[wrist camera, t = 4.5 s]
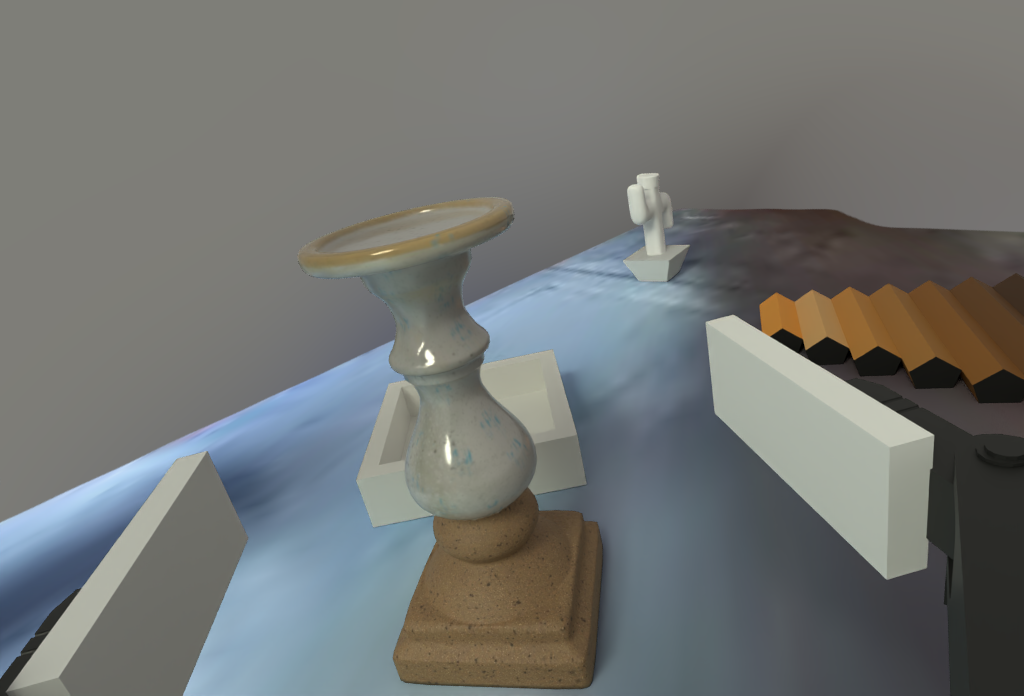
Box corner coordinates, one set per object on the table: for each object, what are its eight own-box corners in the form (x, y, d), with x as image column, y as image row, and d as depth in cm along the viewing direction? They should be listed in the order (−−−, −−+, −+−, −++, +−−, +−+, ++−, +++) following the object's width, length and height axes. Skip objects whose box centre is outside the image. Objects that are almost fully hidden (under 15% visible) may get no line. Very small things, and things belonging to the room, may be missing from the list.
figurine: (695, 266, 90) (685, 164, 84) (668, 288, 83) (656, 179, 78) (651, 266, 94) (639, 169, 89) (622, 287, 88) (607, 184, 82)
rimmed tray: (373, 527, 47) (356, 480, 45) (400, 421, 63) (388, 383, 61) (586, 484, 46) (577, 434, 45) (560, 388, 62) (552, 349, 60)
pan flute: (1202, 447, 38) (1034, 304, 59) (1215, 400, 36) (1038, 271, 58) (771, 444, 47) (760, 322, 68) (769, 407, 46) (759, 294, 67)
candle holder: (451, 545, 43) (350, 217, 34) (604, 540, 40) (537, 182, 31) (396, 684, 33) (234, 275, 24) (593, 691, 31) (491, 232, 22)
